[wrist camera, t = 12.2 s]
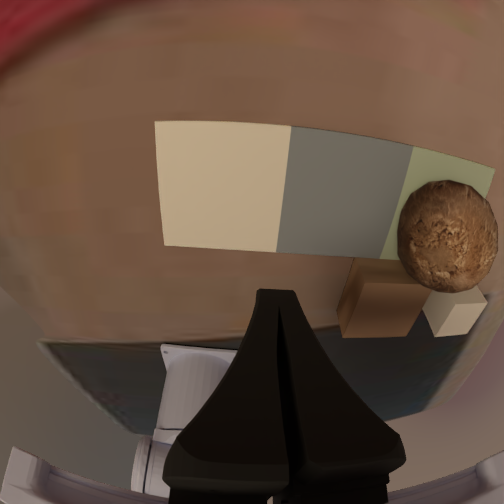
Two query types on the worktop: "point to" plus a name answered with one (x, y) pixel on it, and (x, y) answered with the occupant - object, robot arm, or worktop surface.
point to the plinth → (379, 299)
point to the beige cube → (453, 311)
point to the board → (292, 187)
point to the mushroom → (447, 236)
